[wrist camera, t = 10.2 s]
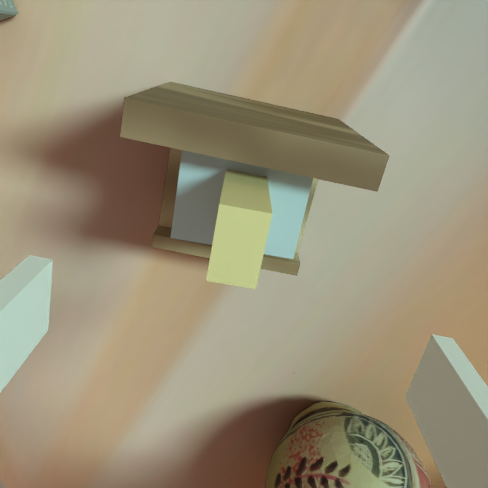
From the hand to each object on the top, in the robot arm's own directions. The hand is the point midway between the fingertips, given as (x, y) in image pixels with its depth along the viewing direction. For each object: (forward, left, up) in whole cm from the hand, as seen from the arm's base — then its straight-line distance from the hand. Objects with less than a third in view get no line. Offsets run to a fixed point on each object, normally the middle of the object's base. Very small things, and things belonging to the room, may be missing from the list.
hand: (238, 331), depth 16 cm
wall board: (0, 0, -26) cm, 26 cm away
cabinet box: (0, 0, -20) cm, 20 cm away
